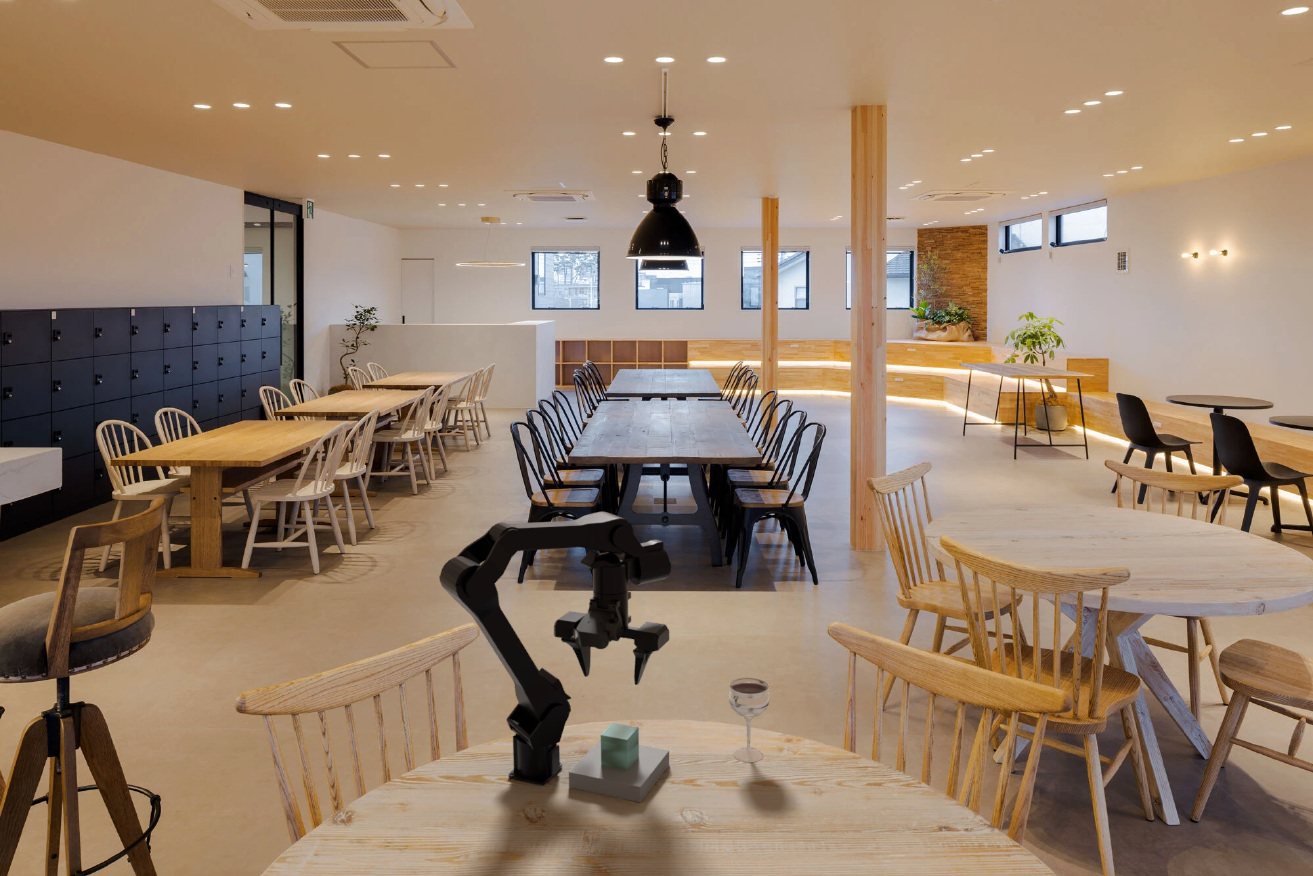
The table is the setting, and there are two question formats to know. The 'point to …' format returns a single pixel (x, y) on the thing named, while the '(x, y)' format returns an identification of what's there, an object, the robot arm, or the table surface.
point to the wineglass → (748, 709)
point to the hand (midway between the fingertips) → (611, 679)
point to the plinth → (619, 774)
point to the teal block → (619, 746)
